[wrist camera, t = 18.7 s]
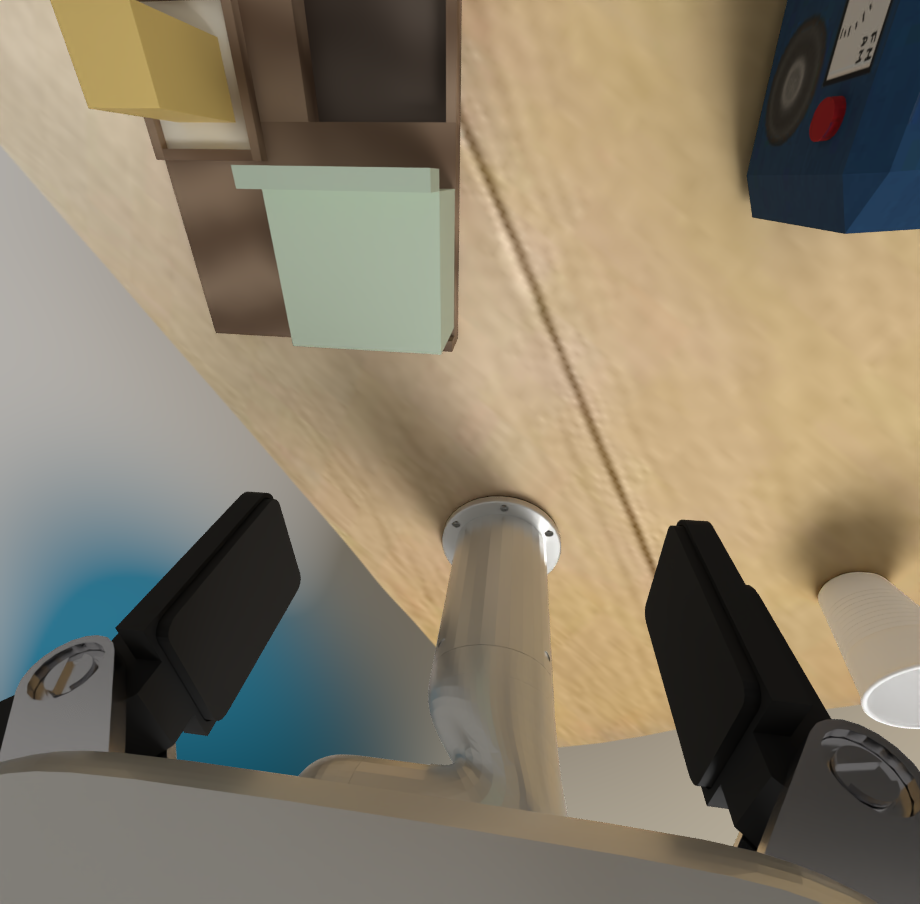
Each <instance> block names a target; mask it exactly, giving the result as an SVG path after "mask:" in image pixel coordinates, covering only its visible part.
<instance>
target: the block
mask: <svg viewBox="0 0 920 904" xmlns="http://www.w3.org/2000/svg"><path fill="white" fill-rule="evenodd" d="M50 1H51V4H52V7H53V9H54V12H55V15H56V18H57V21H58V23H59V26H60V29H61V32H62V35H63V37H64V40H65V43H66V46H67V49H68V52H69V54H70V57H71V60H72V63H73V66H74V68H75V71H76V74H77V77H78V80H79V83H80V85H81V88H82V91H83V94H84V97H85V99H86V102H87V105H88V108H90V109H96V110H102V111H109V112H115V113H121V114H128V115H134V116H140V117H147V118H153V119H159V120H166V121H172V122H213V123H236V121H235V117H234V112H233V107H232V103H231V98H230V93H229V89H228V84H227V79H226V75H225V70H224V65H223V61H222V56H221V51H220V46H219V42H218V37H216V36H214V35H211V34H209V33H207V32H205V31H203V30H200V29H198V28H196V27H194V26H192V25H189V24H187V23H185V22H183V21H181V20H178V19H176V18H174V17H172V16H169V15H167V14H165V13H163V12H161V11H158V10H156V9H154V8H152V7H150V6H147V5H145V4H143V3H141V2H139V1H136V0H50Z"/></svg>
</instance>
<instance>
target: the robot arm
mask: <svg viewBox="0 0 920 904" xmlns="http://www.w3.org/2000/svg"><path fill="white" fill-rule="evenodd" d="M442 546H443V550H444V553H445V555H446V557H447V559H448V561H449V562H450V563H451V565H452V567H451V573H450V578H449V583H448V588H447V593H446V599H445V604H444V609H443V614H442V619H441V625H440V630H439V635H438V640H437V646H436V651H435V656H434V661H433V666H432V671H431V677H430V682H429V690H428V702H429V709H430V715H431V718H432V721H433V724H434V727H435V729H436V731H437V733H438V736H439V738H440V740H441V742H442V744H443V745H444V747H445V749H446V751H447V753H448V755H449V757H450V759H451V760H452V763H453V764H450V765H438V764H431V765H426V764H419V763H411V762H403V761H396V760H389V759H382V758H374V757H366V756H357V755H332V756H327V757H324V758H322V759H319V760H317V761H315V762H314V763H312V764H310V765H309V766H308V767H307V768H306V769H305V770H304V771H303V772H302V773H301V774H300V775H299V776H291V775H284V774H277V773H270V772H263V771H256V770H249V769H242V768H235V767H228V766H221V765H214V764H207V763H200V762H193V761H185V760H177V759H176V743H175V742H176V741H177V739H178V738H179V736H180V734H181V733H182V732H183V731H184V733H191V734H198V735H205V736H208V734H209V733H210V731H211V729H212V727H213V726H214V724H215V722H216V721H219V720H221V719H222V718H223V717H224V716H225V715H226V713H227V712H228V710H229V709H230V707H231V705H232V703H233V701H234V700H235V698H236V696H237V695H238V693H239V691H240V689H241V688H242V686H243V684H244V682H245V681H246V679H247V677H248V676H249V674H250V672H251V670H252V669H253V667H254V665H255V663H256V662H257V660H258V658H259V656H260V655H261V653H262V651H263V649H264V648H265V646H266V644H267V642H268V641H269V639H270V637H271V636H272V634H273V632H274V630H275V629H276V627H277V625H278V623H279V622H280V620H281V618H282V616H283V615H284V613H285V611H286V610H287V608H288V606H289V604H290V602H291V601H292V599H293V597H294V596H295V594H296V592H297V590H298V588H299V585H300V580H301V579H300V578H301V577H300V572H299V569H298V565H297V562H296V559H295V555H294V552H293V548H292V545H291V542H290V538H289V535H288V532H287V528H286V525H285V521H284V518H283V514H282V511H281V508H280V504H279V502H278V501H277V500H275V499H273V496H272V495H271V494H269V493H259V492H245V493H244V494H242V495H241V496H240V497H239V498H238V499H237V500H236V501H235V502H234V503H233V504H232V505H231V506H230V507H229V508H228V509H227V510H226V512H225V513H224V514H223V515H222V516H221V517H220V518H219V519H218V520H217V521H216V522H215V523H214V524H213V525H212V526H211V527H210V528H209V530H208V531H207V532H206V533H205V534H204V535H203V536H202V537H201V538H200V539H199V540H198V541H197V542H196V543H195V544H194V545H193V547H192V548H191V549H190V550H189V551H188V552H187V553H186V554H185V555H184V556H183V557H182V558H181V559H180V560H179V561H178V562H177V563H176V565H174V567H173V568H172V569H171V570H170V571H169V572H168V573H167V574H166V575H165V576H164V577H163V578H162V579H161V580H160V581H159V583H157V585H156V586H155V587H154V588H153V589H152V590H151V591H150V592H149V593H148V594H147V595H146V596H145V597H144V598H143V599H142V600H141V601H140V602H139V603H138V605H137V606H136V607H135V608H134V609H133V610H132V611H131V612H130V613H129V614H128V615H127V616H126V617H125V618H124V619H123V620H122V621H121V623H120V624H119V625H118V626H117V627H116V630H117V631H118V634H117V635H116V637H114V639H113V640H112V641H110V640H109V639H108V638H107V637H103V636H98V635H96V636H85V637H82V638H79V639H76V640H72V641H70V642H68V643H66V644H64V645H62V646H60V647H57V648H56V649H54V650H53V651H51V652H50V653H48V654H47V655H45V656H44V657H42V658H41V659H40V660H39V661H38V662H37V663H36V664H34V665H33V666H32V667H31V668H30V669H29V670H28V672H27V673H26V674H25V675H24V677H23V678H22V679H21V681H20V683H19V685H18V687H17V690H16V692H15V695H14V696H12V697H9V698H7V699H5V700H3V701H1V702H0V904H920V771H919V770H918V769H917V767H916V766H915V765H914V763H913V762H912V761H911V760H910V759H908V758H907V757H906V756H905V755H904V754H903V753H902V752H901V751H900V750H899V749H898V748H897V747H895V746H894V745H893V744H891V743H890V742H888V741H887V740H886V739H884V738H883V737H882V736H880V735H879V734H877V733H875V732H873V731H871V730H869V729H867V728H865V727H863V726H861V725H859V724H855V723H852V722H849V721H845V720H841V719H831V718H830V716H829V714H828V713H827V711H826V709H825V707H824V706H823V704H822V702H821V701H820V699H819V697H818V695H817V694H816V692H815V690H814V689H813V687H812V685H811V683H810V682H809V680H808V678H807V677H806V675H805V673H804V671H803V670H802V668H801V666H800V664H799V663H798V661H797V659H796V658H795V656H794V654H793V652H792V651H791V649H790V647H789V646H788V644H787V642H786V640H785V639H784V637H783V635H782V634H781V632H780V630H779V628H778V627H777V625H776V623H775V622H774V620H773V618H772V616H771V615H770V613H769V611H768V610H767V608H766V606H765V604H764V603H763V601H762V599H761V598H760V596H759V594H758V593H757V592H756V590H755V589H754V588H752V587H751V586H750V585H745V583H744V581H743V579H742V577H741V576H740V574H739V572H738V570H737V569H736V567H735V565H734V563H733V561H732V560H731V558H730V556H729V554H728V553H727V551H726V549H725V547H724V546H723V544H722V542H721V540H720V538H719V537H718V535H717V533H716V531H715V530H714V528H713V526H712V525H711V523H710V522H708V521H694V520H680V521H679V522H678V523H677V525H676V526H670V527H669V529H668V531H667V535H666V538H665V541H664V545H663V548H662V552H661V555H660V558H659V562H658V565H657V568H656V572H655V575H654V579H653V582H652V585H651V589H650V592H649V596H648V599H647V602H646V606H645V619H646V624H647V627H648V631H649V634H650V638H651V641H652V645H653V648H654V652H655V656H656V659H657V663H658V666H659V670H660V673H661V677H662V680H663V684H664V688H665V691H666V695H667V698H668V702H669V705H670V709H671V712H672V716H673V719H674V723H675V727H676V730H677V733H678V737H679V740H680V744H681V748H682V751H683V755H684V759H685V762H686V766H687V769H688V773H689V776H690V778H691V780H692V782H693V784H694V785H696V786H701V788H702V791H703V794H704V798H705V801H706V804H707V806H711V807H718V808H726V809H729V812H730V814H731V818H732V821H733V824H734V827H735V828H736V829H738V830H739V833H738V836H737V838H736V840H735V843H734V845H733V846H728V845H725V844H720V843H716V842H711V841H706V840H702V839H696V838H690V837H685V836H678V835H673V834H667V833H662V832H655V831H650V830H644V829H638V828H633V827H627V826H621V825H615V824H610V823H603V822H597V821H590V820H583V819H577V818H571V817H568V815H567V809H566V803H565V798H564V792H563V786H562V779H561V772H560V765H559V757H558V747H557V737H556V723H555V709H554V691H553V674H552V655H551V636H550V617H549V598H548V579H547V574H549V573H550V572H551V571H552V570H553V568H554V567H555V565H556V564H557V562H558V560H559V557H560V554H561V541H560V535H559V532H558V529H557V527H556V525H555V523H554V522H553V520H552V519H551V518H550V517H549V516H548V515H547V514H546V513H545V512H544V511H542V510H541V509H540V508H538V507H537V506H535V505H533V504H531V503H528V502H526V501H523V500H520V499H516V498H512V497H504V496H490V497H484V498H479V499H476V500H473V501H470V502H468V503H466V504H464V505H463V506H461V507H459V508H458V509H457V510H456V511H455V512H454V513H452V515H451V516H450V518H449V519H448V520H447V523H446V525H445V528H444V532H443V537H442Z"/></svg>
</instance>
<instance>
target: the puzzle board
mask: <svg viewBox="0 0 920 904" xmlns="http://www.w3.org/2000/svg"><path fill="white" fill-rule="evenodd" d="M136 1H139V2H141V3H143V4H145V5H147V6H150V7H152V8H154V9H156V10H158V11H161V12H163V13H165V14H167V15H169V16H172V17H174V18H176V19H178V20H181V21H183V22H185V23H187V24H189V25H192V26H194V27H196V28H198V29H200V30H203V31H205V32H207V33H209V34H211V35H214V36H216V37H218V42H219V46H220V51H221V56H222V61H223V65H224V70H225V75H226V79H227V84H228V89H229V93H230V98H231V103H232V107H233V112H234V117H235V121H236V123H213V122H172V121H166V120H159V119H153V118H147V117H144V119H145V123H146V126H147V129H148V133H149V136H150V139H151V143H152V146H153V149H154V152H155V156H156V159H157V160H165V161H166V165H167V168H168V172H169V175H170V178H171V182H172V185H173V189H174V192H175V195H176V199H177V202H178V206H179V209H180V212H181V216H182V219H183V223H184V226H185V229H186V233H187V236H188V240H189V243H190V246H191V250H192V253H193V257H194V260H195V263H196V267H197V270H198V274H199V277H200V280H201V284H202V287H203V291H204V294H205V297H206V301H207V304H208V308H209V311H210V314H211V318H212V321H213V325H214V328H215V331H216V333H226V334H244V335H261V336H278V337H291V333H290V328H289V323H288V318H287V313H286V308H285V303H284V298H283V293H282V288H281V283H280V278H279V273H278V268H277V262H276V257H275V252H274V247H273V242H272V237H271V232H270V227H269V222H268V217H267V212H266V207H265V202H264V197H263V192H262V189H236V186H235V181H234V177H233V173H232V168H231V165H268V166H334V167H401V168H436V169H439V189H455V239H454V329H453V331H452V333H451V335H450V337H449V339H448V341H447V343H446V345H445V347H444V350H443V351H448V352H452V351H453V348H454V346H455V344H456V341H457V339H458V271H459V184H460V97H461V11H462V0H136Z"/></svg>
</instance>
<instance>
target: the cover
mask: <svg viewBox="0 0 920 904" xmlns="http://www.w3.org/2000/svg"><path fill="white" fill-rule="evenodd" d="M231 168H232V173H233V177H234V181H235V186H236V189H262V192H263V197H264V202H265V207H266V212H267V217H268V222H269V227H270V232H271V237H272V242H273V247H274V252H275V257H276V262H277V268H278V273H279V278H280V283H281V288H282V293H283V298H284V303H285V308H286V313H287V318H288V323H289V328H290V333H291V338H292V343H293V346H304V347H321V348H338V349H355V350H371V351H388V352H405V353H422V354H439V355H441V354H442V352H443V350H444V347H445V345H446V343H447V341H448V339H449V337H450V335H451V333H452V331H453V329H454V239H455V189H439V169H436V168H401V167H334V166H268V165H231Z"/></svg>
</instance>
